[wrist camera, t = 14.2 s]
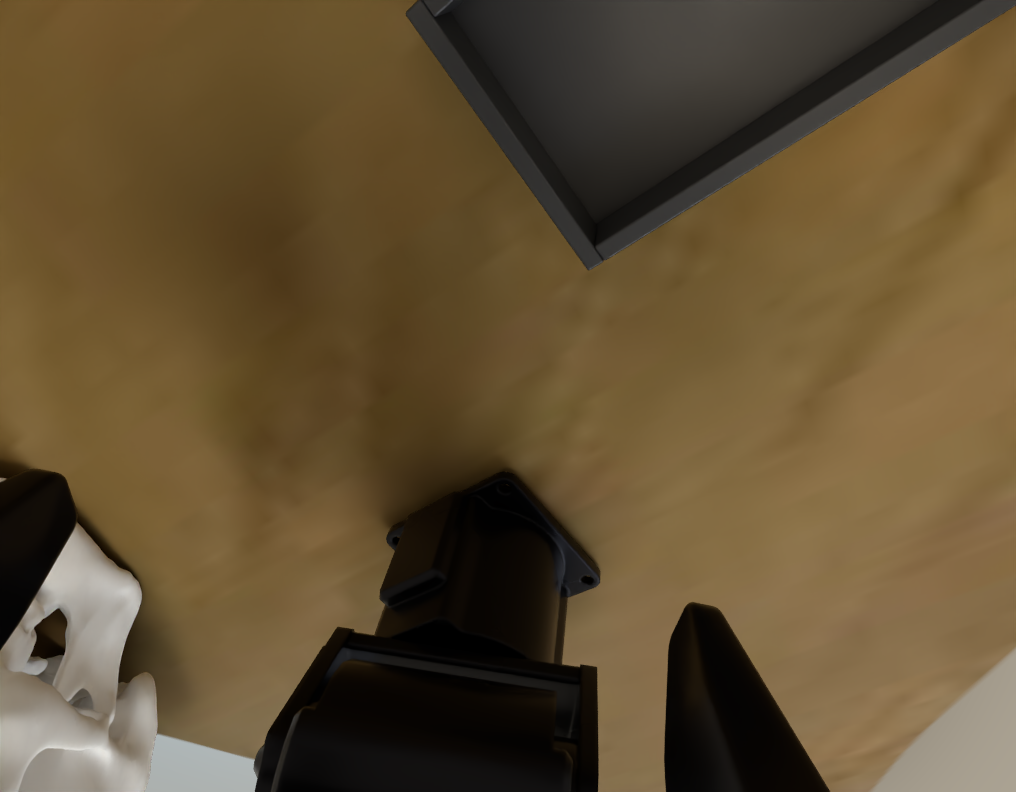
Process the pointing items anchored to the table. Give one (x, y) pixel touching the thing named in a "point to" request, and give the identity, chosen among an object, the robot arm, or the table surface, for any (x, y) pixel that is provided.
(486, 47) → the pen tray
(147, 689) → the white skull model
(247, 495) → the table surface
